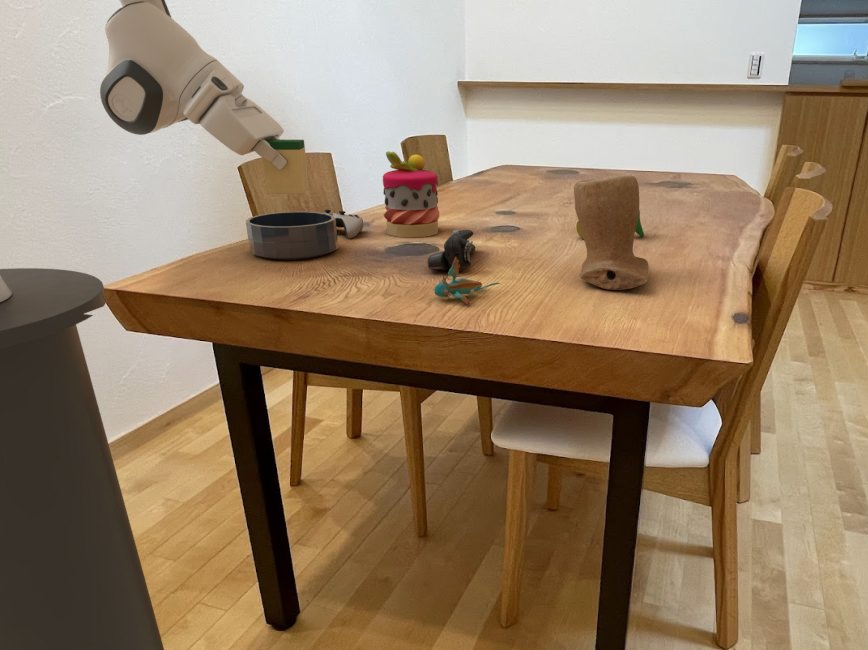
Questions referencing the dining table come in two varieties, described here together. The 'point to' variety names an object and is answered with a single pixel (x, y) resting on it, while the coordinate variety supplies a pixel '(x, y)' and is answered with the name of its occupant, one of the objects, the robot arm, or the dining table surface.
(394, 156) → the cake
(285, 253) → the bowl
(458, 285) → the dragon figurine
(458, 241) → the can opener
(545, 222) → the dining table surface
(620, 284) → the brown clay sculpture
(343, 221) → the gaming controller
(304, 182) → the sponge
